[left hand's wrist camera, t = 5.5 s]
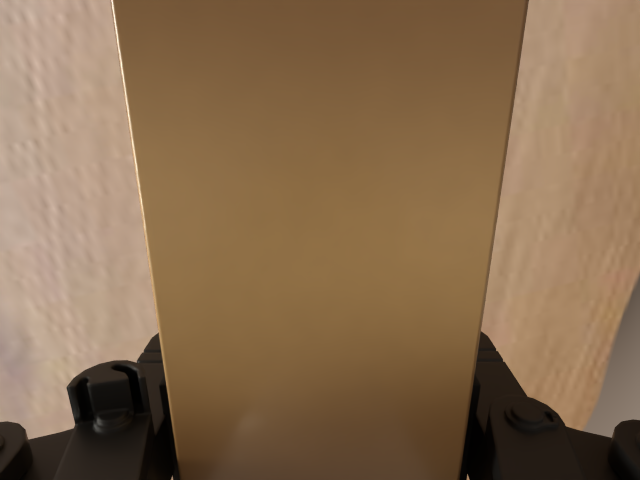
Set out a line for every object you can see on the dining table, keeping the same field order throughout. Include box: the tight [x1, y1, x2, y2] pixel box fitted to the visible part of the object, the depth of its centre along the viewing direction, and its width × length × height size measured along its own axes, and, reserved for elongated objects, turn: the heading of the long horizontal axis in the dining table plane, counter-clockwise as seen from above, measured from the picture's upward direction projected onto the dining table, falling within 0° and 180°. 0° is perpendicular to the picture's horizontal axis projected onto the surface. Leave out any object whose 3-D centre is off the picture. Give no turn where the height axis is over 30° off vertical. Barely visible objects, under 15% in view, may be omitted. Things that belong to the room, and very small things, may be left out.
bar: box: [110, 0, 529, 480], centre depth 9 cm, size 22×4×8 cm, turn 0°
